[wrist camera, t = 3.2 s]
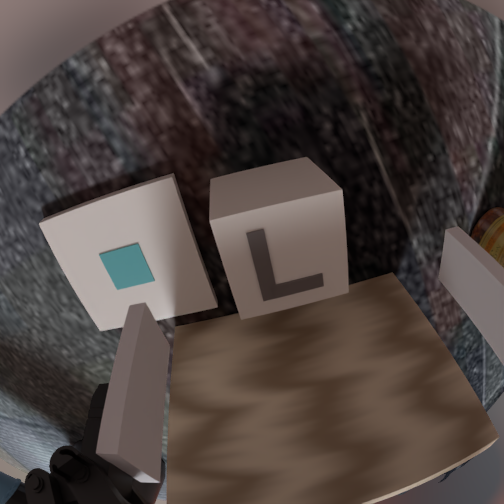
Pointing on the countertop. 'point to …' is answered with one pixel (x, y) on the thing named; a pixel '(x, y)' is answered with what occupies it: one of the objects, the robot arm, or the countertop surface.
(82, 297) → the tile
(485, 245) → the sauce bottle
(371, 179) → the countertop surface
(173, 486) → the screen
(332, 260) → the letter cube
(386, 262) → the countertop surface
